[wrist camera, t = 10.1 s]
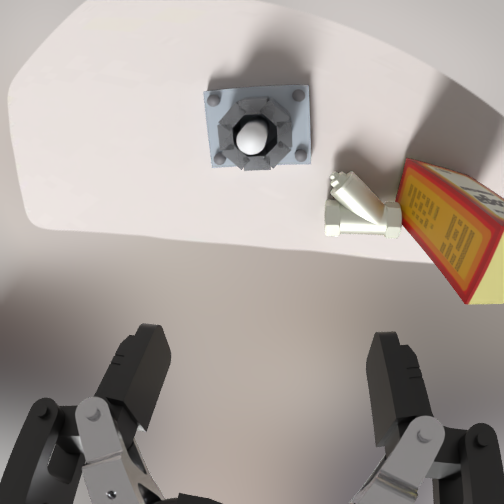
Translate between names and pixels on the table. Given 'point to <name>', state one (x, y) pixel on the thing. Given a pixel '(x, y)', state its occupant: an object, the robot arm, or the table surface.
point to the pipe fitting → (359, 209)
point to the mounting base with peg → (260, 122)
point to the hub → (272, 150)
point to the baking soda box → (456, 228)
